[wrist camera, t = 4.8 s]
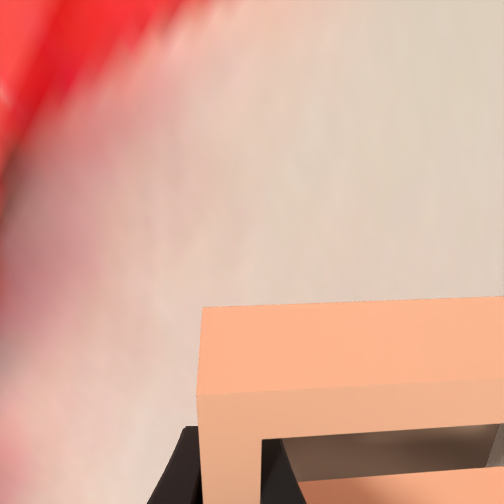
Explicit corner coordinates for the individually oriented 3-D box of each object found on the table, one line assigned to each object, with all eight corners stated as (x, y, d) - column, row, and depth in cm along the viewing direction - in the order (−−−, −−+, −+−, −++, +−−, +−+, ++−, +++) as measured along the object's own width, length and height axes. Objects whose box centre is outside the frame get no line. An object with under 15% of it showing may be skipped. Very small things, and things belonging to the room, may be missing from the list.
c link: (634, 291, 10) (785, 362, 8) (544, 485, 13) (629, 585, 11) (202, 307, 9) (196, 394, 7) (213, 512, 12) (211, 630, 10)
